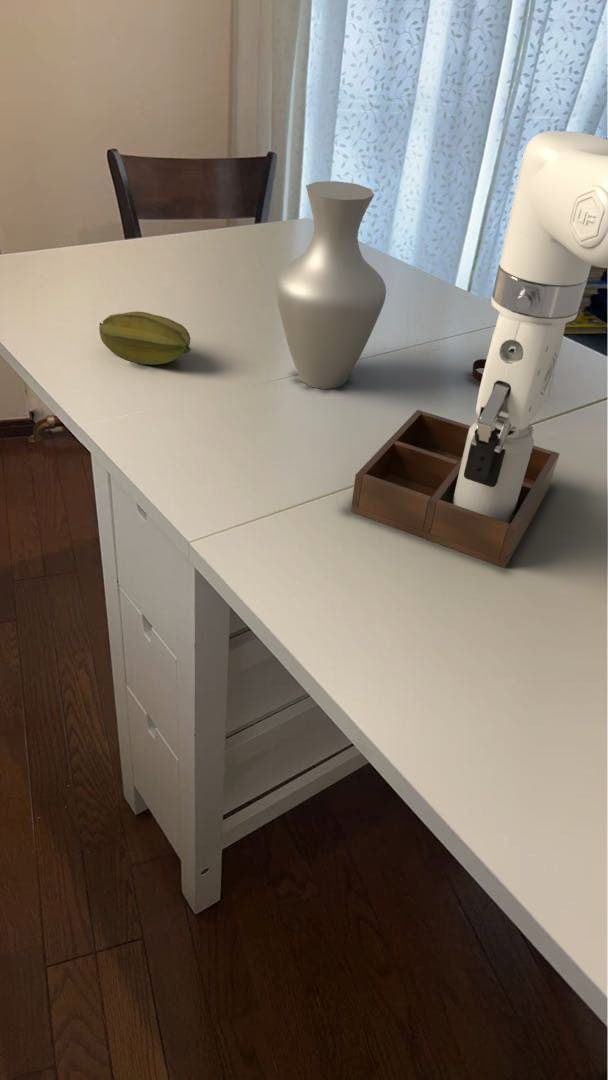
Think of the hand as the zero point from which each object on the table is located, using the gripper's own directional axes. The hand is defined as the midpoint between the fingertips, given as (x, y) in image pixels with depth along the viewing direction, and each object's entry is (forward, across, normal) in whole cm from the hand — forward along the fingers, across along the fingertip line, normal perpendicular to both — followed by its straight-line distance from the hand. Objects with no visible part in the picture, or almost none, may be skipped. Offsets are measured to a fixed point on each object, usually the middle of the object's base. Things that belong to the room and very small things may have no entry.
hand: (495, 459), depth 80 cm
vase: (+9, +22, +30) cm, 39 cm away
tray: (+9, +4, +4) cm, 11 cm away
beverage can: (+8, 0, 0) cm, 8 cm away
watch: (+9, +36, +9) cm, 38 cm away
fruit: (+9, +12, +53) cm, 55 cm away
